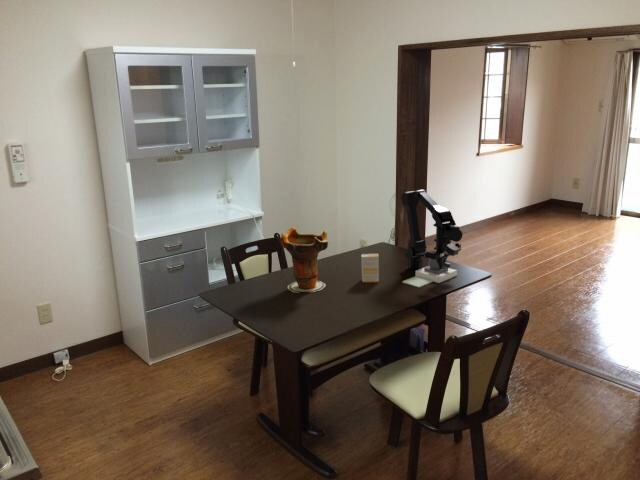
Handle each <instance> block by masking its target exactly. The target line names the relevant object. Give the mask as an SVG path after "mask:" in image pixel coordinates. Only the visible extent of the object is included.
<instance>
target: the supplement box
mask: <svg viewBox="0 0 640 480" xmlns="http://www.w3.org/2000/svg"><path fill="white" fill-rule="evenodd" d="M360 257H361V259H360V260H361V283H379V282H380V265H379V263H380V262H379V261H380V260H379V258H380V257H379V253H362V254H361V256H360Z"/></svg>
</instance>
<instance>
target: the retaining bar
mask: <svg viewBox="0 0 640 480" xmlns="http://www.w3.org/2000/svg"><path fill="white" fill-rule="evenodd" d="M427 259H428V261H427V262H428V265H427V266H430V259H429V258H427ZM444 267H447V268H450V269H452V263H450V262H447V261H446V262H445V265H444Z"/></svg>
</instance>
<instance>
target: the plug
mask: <svg viewBox="0 0 640 480" xmlns="http://www.w3.org/2000/svg"><path fill="white" fill-rule="evenodd" d="M427 266H428V265H427ZM427 266H425V267H423V268H424V271H427V272H431V273H434V274H440V273H443V272H445V271H448V268H447V267H443V269H440V267H439V265H438V263H437V261H436V260H433V259H430V266H428V267H427Z"/></svg>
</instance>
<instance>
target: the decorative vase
mask: <svg viewBox="0 0 640 480" xmlns="http://www.w3.org/2000/svg"><path fill="white" fill-rule="evenodd" d="M327 236H328V233H327V230H323V232H322V233H321V234H316V233H299V232H298V231H297V228H296V227H295V226H293V227H290V228H288V230H287V232H286V233H285V232H282V233H281V237H280V238H279V242H280V245H281V246H282V248H284V249H285V250H286V251H287V252H289V254H290V256H291V261H292V262H291V263H292V269H293V274H292V277H291V279H293V278H294V279H295V281H294V282H292V283H290V284H288V285H287V286H286V287H287V289H288V290H289V291H291V292H292V293H298V294H299V293H315V292H318V291H322V290H323V289H324V288H325V287H326V286H327V285H326V283H324V282H322V280H321V281H320V280H318V277H319V272H318V258H319V253H320V252H322V251H325V250H327V248H328V246H329V241H328V237H327Z"/></svg>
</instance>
